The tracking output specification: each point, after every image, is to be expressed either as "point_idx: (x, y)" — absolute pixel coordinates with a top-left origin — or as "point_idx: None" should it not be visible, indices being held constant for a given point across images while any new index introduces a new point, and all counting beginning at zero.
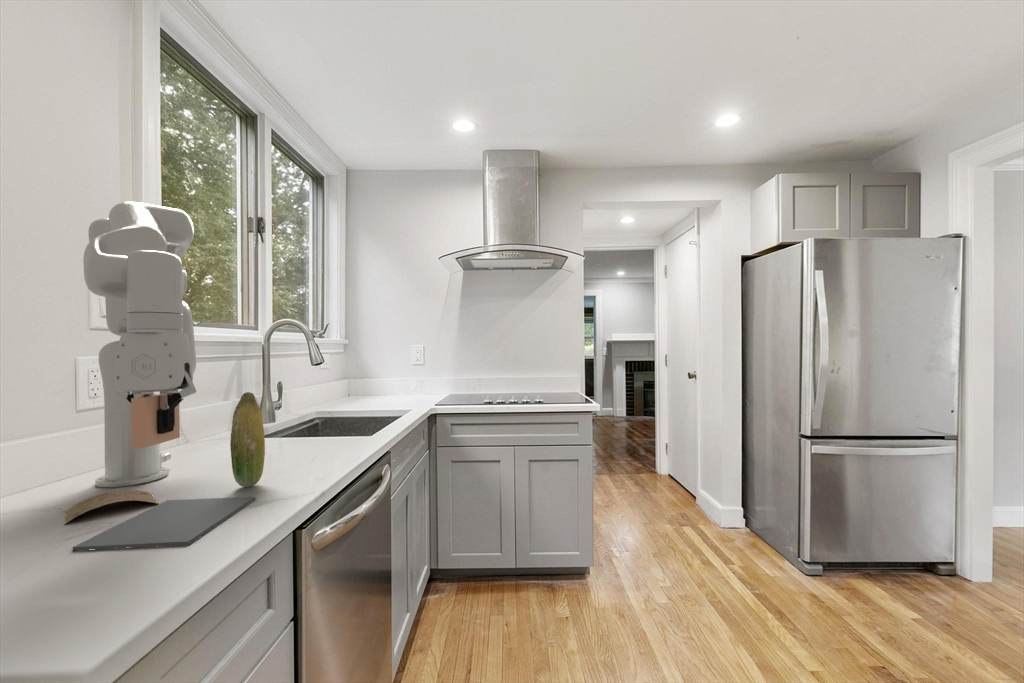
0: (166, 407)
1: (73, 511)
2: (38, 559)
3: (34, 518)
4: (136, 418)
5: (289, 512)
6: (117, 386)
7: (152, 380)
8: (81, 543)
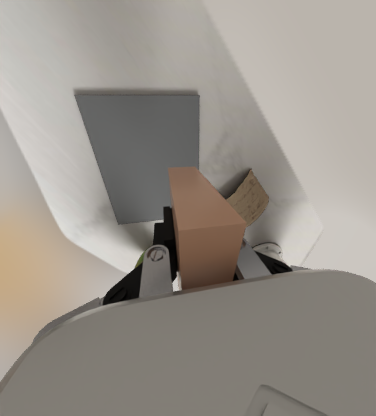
0: (151, 253)
1: (259, 191)
2: (217, 76)
3: (283, 184)
4: (199, 188)
5: (44, 190)
6: (374, 287)
7: (181, 388)
8: (197, 105)
